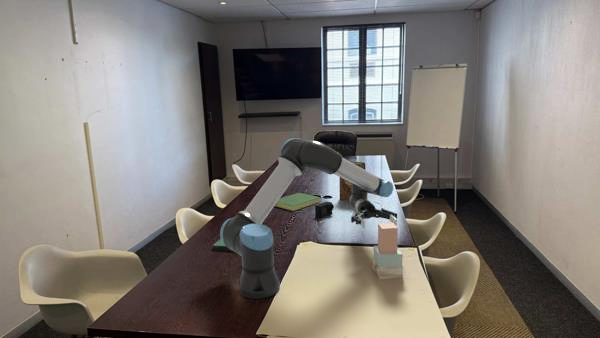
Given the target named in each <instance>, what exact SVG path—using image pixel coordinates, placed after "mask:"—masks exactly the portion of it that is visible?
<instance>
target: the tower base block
mask: <svg viewBox="0 0 600 338" xmlns="http://www.w3.org/2000/svg"><path fill="white" fill-rule="evenodd" d="M373 269H374V270H373ZM372 270H373V271H374V273H375V274H376V275H377V278H378V279H379V280H388V279H389V280H391V279H399V278H400V279H401V278H403V276H404V266H403V264H402V266H397V267H378V265H377V263H376V261H375V260H374V258H373V257H372Z"/></svg>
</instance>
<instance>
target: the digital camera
mask: <svg viewBox="0 0 600 338" xmlns="http://www.w3.org/2000/svg"><path fill="white" fill-rule="evenodd" d="M314 207H315V208H314V212H315V215H314V216H315V218H318V219H323V218H326V217H328V216H330V215H333V210H334V207H335V206H334V204H333V202H332V201H327V200H326V201H323V202H320V203H317V204H314Z"/></svg>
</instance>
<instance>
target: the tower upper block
mask: <svg viewBox="0 0 600 338" xmlns="http://www.w3.org/2000/svg"><path fill="white" fill-rule="evenodd" d="M372 247H373V251H372V253H373V254H372V259H373V258H374V260H375V261H376V263H377V265H378V267H397V266H402V265H403V252H402V251H401V250H400V248H399V247H398V246H397V253H385V254H382V253H381V252H380V250H379V248H378V245H373V246H372Z"/></svg>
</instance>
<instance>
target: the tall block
mask: <svg viewBox="0 0 600 338" xmlns="http://www.w3.org/2000/svg"><path fill="white" fill-rule="evenodd" d="M397 226H398V225H397ZM397 226H396V225H395V224H394V223H392V222H383V223H382V222H381V223H378V224H377V246H378V248H379V250H380V252H381V253H382V254H385V253H397V247H398V244H399V243H398V239H399V237H398V234H399V231H398V230H399V229H398V227H397Z"/></svg>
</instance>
